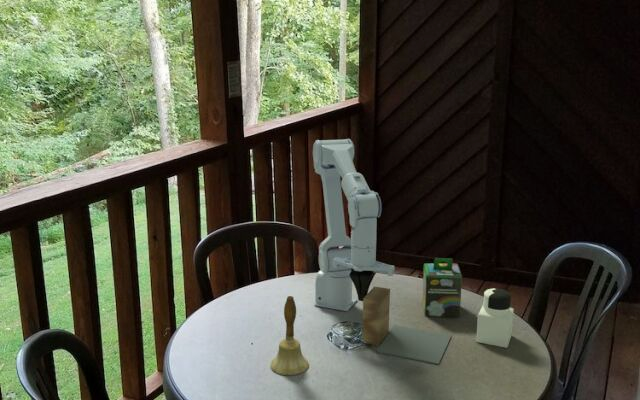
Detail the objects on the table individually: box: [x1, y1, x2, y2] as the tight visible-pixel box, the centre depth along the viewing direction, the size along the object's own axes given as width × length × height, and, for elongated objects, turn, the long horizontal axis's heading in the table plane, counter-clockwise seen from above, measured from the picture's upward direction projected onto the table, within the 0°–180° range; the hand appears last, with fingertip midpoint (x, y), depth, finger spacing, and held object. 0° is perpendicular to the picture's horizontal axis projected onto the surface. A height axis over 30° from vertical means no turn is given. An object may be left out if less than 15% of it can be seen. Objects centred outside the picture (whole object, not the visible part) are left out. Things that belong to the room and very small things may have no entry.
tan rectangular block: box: [361, 286, 391, 347], centre depth 139 cm, size 4×8×11 cm, turn 157°
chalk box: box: [422, 257, 463, 319], centre depth 153 cm, size 9×9×15 cm
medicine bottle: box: [475, 287, 515, 349], centre depth 138 cm, size 7×7×12 cm
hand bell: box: [270, 295, 310, 376], centre depth 125 cm, size 8×8×16 cm
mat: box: [376, 324, 452, 366], centre depth 136 cm, size 14×14×1 cm
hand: (362, 299), depth 139 cm, fingers closed
